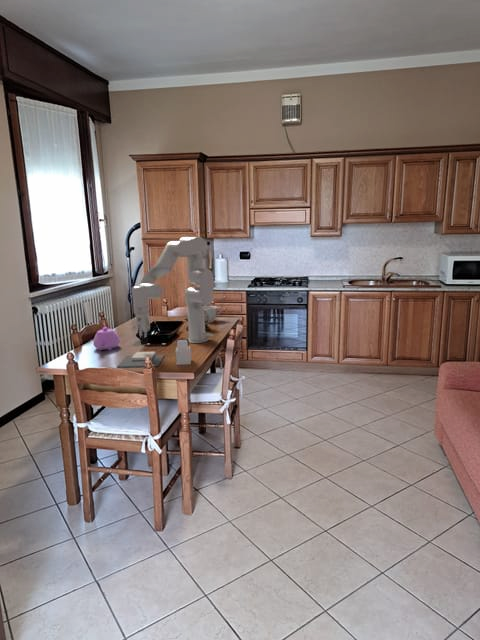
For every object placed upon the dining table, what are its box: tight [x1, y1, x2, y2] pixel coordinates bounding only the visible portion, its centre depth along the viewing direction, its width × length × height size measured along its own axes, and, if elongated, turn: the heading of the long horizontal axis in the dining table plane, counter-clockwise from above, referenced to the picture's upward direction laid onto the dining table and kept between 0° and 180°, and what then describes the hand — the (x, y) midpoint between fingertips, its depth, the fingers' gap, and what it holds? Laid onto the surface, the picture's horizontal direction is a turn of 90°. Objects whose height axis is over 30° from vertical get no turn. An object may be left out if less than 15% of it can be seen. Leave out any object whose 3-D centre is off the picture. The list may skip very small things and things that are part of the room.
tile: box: [131, 351, 156, 361], centre depth 228 cm, size 10×2×10 cm
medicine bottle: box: [175, 338, 192, 366], centre depth 219 cm, size 7×7×12 cm
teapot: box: [93, 326, 120, 352], centre depth 248 cm, size 20×14×12 cm
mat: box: [116, 354, 165, 368], centre depth 224 cm, size 20×17×1 cm
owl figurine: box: [183, 310, 212, 333], centre depth 283 cm, size 18×12×17 cm, turn 65°
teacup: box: [202, 305, 223, 323], centre depth 305 cm, size 12×15×10 cm
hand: (144, 344), depth 231 cm, fingers closed
